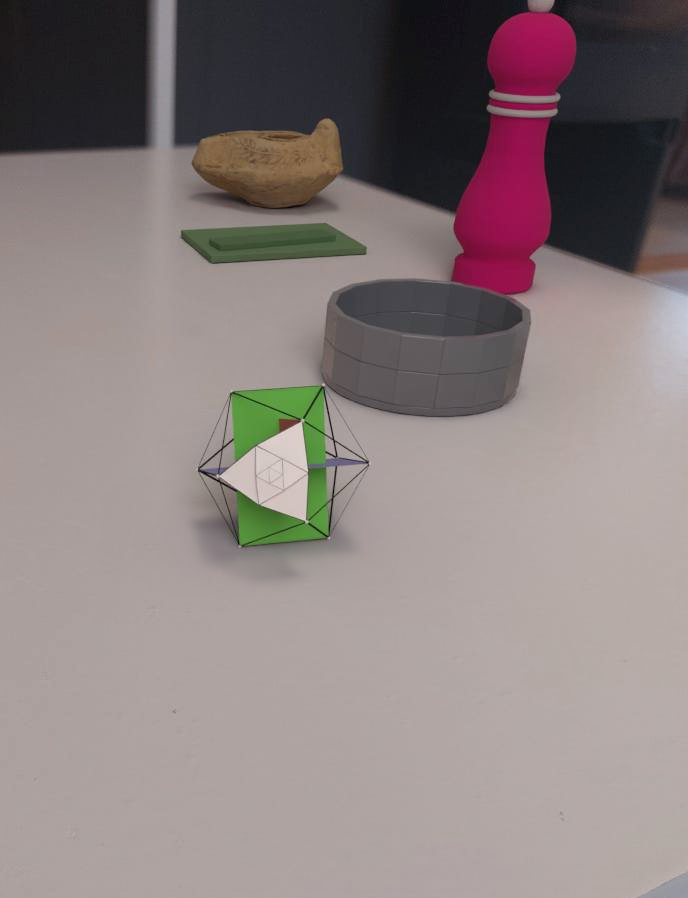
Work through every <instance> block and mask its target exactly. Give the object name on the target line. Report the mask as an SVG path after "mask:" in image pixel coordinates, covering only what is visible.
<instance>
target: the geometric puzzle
mask: <svg viewBox="0 0 688 898" xmlns="http://www.w3.org/2000/svg"><path fill="white" fill-rule="evenodd" d="M326 393H327V395H328V396H329V398H330V399H331V401H332V403H333V405H334V407H335V408H336V410H337V412H338V413H339V414H340V416H341V418H342V420H343V422H344V423H345V425H346V427H347V428H348V430H349V431H350V433H351V435H352V436H353V438H354V440H355V442H356V443H357V445H358V446H359V448H360V450H361V451H362V452H363V454H364V457H365V458H364V457H362V456H361V455H359V454H358V453H356V452H354V451H353V450H351V449H350V448H349V447H347V446H345V445H344V444H342V443H340V442H339V441H337V440H336V439H335V436H334V429H333V425H332V420H331V415H330V410H329V405H328V400H327V395H326ZM227 403H228V406H227V414H226V419H225V425H224V432H223V437H222V444H221V445H222V446H221V447H220V448H219V449H218V450H217V451H216V452H215V453H214V454H213V455H212V456H210V457H209V458H208V459H207V460H206V461H205V462H203V463H202V460H203V459H204V456H205V454H206V451H207V450H208V447H209V444H210V442H211V440H212V438H213V435H214V433H215V431H216V428H217V427H218V424H219V422H220V420H221V417H222V415H223V412H224V410H225V408H226V405H227ZM230 405H231V407H230ZM230 408H231V415H232V429H233V430H232V432H233V433H232V434H233V438H232V439H230V440H229V441H228V442H227V443H226V444H225V438H226V433H227V426H228V418H229V413H230ZM325 408H326V413H327V417H328V422H329V427H330V433H331V436H329V435H328V434H326V425H325V424H326V423H325V421H326V419H325ZM343 417H344V416H343V415H342V414H341V412H340V410H339V409H338V408H337V405H336V403H335V402H334V401H333V399H332V397H331V396H330V394H329V392H328V391H327V389H326V383H321V384H319V385H308V386H307V385H305V386H291V387H290V386H289V387H277V388H276V387H275V388H263V389H247V390H245V389H244V390H233V389H230V390H229V395H228V397H227V400H226V402H225V403H224V407H223V409H222V411H221V414H220V416H219V419H218V421H217V423H216V426H215V427H214V430H213V432H212V434H211V436H210V439H209V441H208V444H207V446H206V448H205V451H204V453H203V454H202V457H201V458H200V459H201V460H200V462H199V464H198V466H197V467H196V468H195V472H197V473H198V474H199V476H200V477H201V480H202V481H203V484H204V485H205V486H206V490H208V492H209V494H210V496H211V498H212V499H213V501H214V503H215V505H216V506H217V508H218V510H219V512H220V514H221V515H222V518H223V519H224V520H225V523H226V524H227V526H228V527H229V530H230V532H231V533H232V535H233V537H234V539H235V541H236V543H237V544H238V546H237V547H238V548H239V549H242V547H250V546H251V547H252V546H260V545H271V544H281V543H291V542H301V541H311V540H313V541H314V540H322V539H326V540H327V541H330V540H331V535H332V533H333V531H334V530H335V528H336V526H337V524H338V522H339V521H340V519H341V517H342V514H344V512H345V510H346V508H347V506H348V505H349V502H350V501H351V499H352V498H353V495H354V494H355V491H356V490H357V489H358V487H359V485H360V483H361V481H362V480H363V478H364V476H365V474H366V472H367V470H368V469H369V467H370V466H371V465H372V464H373V463H372V461H370V460H369V459H368V457H367V455H366V454H365V452H364V451H363V448H362V447H361V445H360V444H359V442H358V440H357V439H356V437H355V435H354V434H353V432H352V430H351V429H350V427H349V425H348V424H347V422H346V421H345V419H344V418H343ZM326 437H327V438H328V439H329V440H332V442H333V448H334V452H335V454H333V453H331V452H329V451H327V449H326V447H327V446H326ZM232 442H233V448H234V449H233V450H234V462H233V463H232V464H231V465H229V466H225V467H221V464H222V457H223V451H224V449H225V448H226V447H228V446H229V445H230V444H231V443H232ZM336 444H338V445H339V446H341V447H342V448H344V449H346V450H347V451H349V452H350V453H352V454H353V455H355V456H356V457H358V458H359V459H361V460H358V459H352V458H346V457H339V455H338V451H337V450H338V449H337V446H336ZM219 453H220V458H219V464H218V467H213V468H203V467H204V466H205V465H206V464H208V463H209V462H210V461H211V460H212V459H214V458H215V457H216V456H217V455H218V454H219ZM327 455H329V456H331V457H332V458H327V457H326V456H327ZM201 463H202V464H201ZM356 465H357V466H358V465H366V466H365V467H364V468H362V470H361V471H359V472H358V473H357V474H356V475H355V476H354V477H353V478H352V479H350V481H349V482H348V483H346V484H345V485H344V487H342V488H341V489H340V490H339V491H338V492H336V494H335V490H336V481H337V471H338V467H344V466H345V467H346V466H356ZM333 467H334V476H333V484H332V494H331V498H330V499H329V500H328V481H327V480H328V477H327V468H333ZM361 473H363V475H362V477H361V478H360V480H359V483H358V484H357V486H356V487H355V489H354V491H353V492H352V494H351V496H350V498H349V500H348V502H347V503H346V505H345V507H344V509H343V510H342V513H341V514H340V516H339V518H338V519H337V520H336V522H335V525H334V527H333V528H332V530H331V524H332V516H333V507H334V500H335V499H334V498H335V497H337V496H338V495H339V494H340V493H341V492H342V491H343V490H344V489H345V488H346V487H348V485H350V484H351V482H353V481H354V480H355V479H356V478H357V477H358V476H359V475H360V474H361ZM201 474H202V475H204V476H205V477H207V478H209V479H211V480H213V481H215V482H216V483H219V485H220V489H221V492H222V495H223V498H224V501H225V506H226V508H227V511H228V514H229V518H230V520H231V523H232V526H233V530H232V528H231V527H230V524H229V523H228V522H227V519H226V517H225V516H224V514H223V512H222V511H221V510H222V509H220V507H219V505H218V503H217V501H216V499H215V498H214V497H213V496H214V495H213V494H212V492H211V491H210V489H209V487H208V485H207V484H206V483H207V482H205V479H204V478H203V477H202V475H201ZM221 480H222V481H221ZM223 486H224V487H226V488H228V489H230V490H231V491H233V492H235V493H236V502H237V519H238V520H237V521H238V533H237V530H236V527H235V524H234V521H233V517H232V514H231V511H230V507H229V505H228V501H227V498H226V495H225V491H224V489H223ZM329 503H330V511H329V509H328V507H329V505H328V504H329ZM233 531H234V532H233ZM234 533H235V534H234Z"/></svg>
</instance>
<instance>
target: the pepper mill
mask: <svg viewBox="0 0 688 898" xmlns="http://www.w3.org/2000/svg"><path fill="white" fill-rule="evenodd" d="M554 4H555V0H527V7H528V10H529V11H528V12H522V13H519V14H516V15H514V16H511V17H510V18H508V19H507V20H505V21H504V22H503V23H502V24H501V25H500V26H499V27H498V28H497V30H496V31H495V33H494V35H493V36H492V39H491V41H490V44H489V49H488V52H487V61H486V64H487V69H488V72H489V75H490V76H491V78H492V79H493V81H494V86H495V88H493V89H491V90H489V92H488V96H489V97H490V99H489V100H488V103H489V104H488V105H487V106H486V111H487V112H488V113H490V125H489V131H488V137H487V141H486V144H485V149H484V152H483V154H482V157H481V160H480V162H479V164H478V167H477V168H476V170H475V172H474V175H473V176H472V177H471V179H470V182H469V183H468V184H467V186H466V188H465V190H464V192H463V194H462V196H461V198H460V201H459V203H458V206H457V208H456V212H455V216H454V221H453V225H452V226H453V227H452V230H453V235H454V237H455V239H456V240H457V242H458V243H459V245H460V246H461V249H462V250H463V252H460V253H458V254H457V255H456V256H455V258H454V261H453V267H452V273H451V274H452V275H451V281H452V282H457V283H462V284H467V285H472V286H477V287H482V288H487V289H490V290H493V291H495V292H498V293H501V294H504V295H508V294H509V295H510V294H519V293H523V292H526V291H528V290H530V289H531V288H532V286H533V284H534V278H535V274H536V273H535V272H536V266H537V264H536V262H535V261H534V260H533V259H531V256H532V255H533V254H534V253H535V252H537V251H538V250H539V249H540V248H541V247H542V246H543V245H544V244H545V243H546V241H547V240H548V238H549V235H550V231H551V222H552V207H551V206H552V205H551V204H552V203H551V199H550V194H549V188H548V183H547V177H546V170H545V149H546V139H547V134H548V133H547V132H548V129H549V125H550V121H551V118H552V117H555V116H556V115H557V114H558V111H559V110H558V108H557V107H558V102H559V101H560V99H561V94H560V93H558V92H556V91H557V90H558V88H559V86H560V85H561V84H562V82H564V80H565V79H566V78H567V77H568V76H569V75H570V73H571V72H572V70H573V68H574V66H575V61H576V57H577V56H576V55H577V38H576V34H575V32H574V30H573V27H572V26H571V25H570V23H568V21H567V20H565V18H564V17H563V18H562V17H561V16H559V15H557V14H554V13H551V12H550V11H551V9H552V8H553V6H554Z"/></svg>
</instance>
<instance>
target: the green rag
mask: <svg viewBox="0 0 688 898" xmlns="http://www.w3.org/2000/svg"><path fill="white" fill-rule="evenodd" d="M180 237H181V239H183V240H184V241H185V242H187V243H188V245H190V246H191V247H192V248H193V249H194V250H196V251H197V252H198V253H199V254H200V255H202V256H203V257H204V258H205V259H206V260H207V261H208V262H210V263H211V264H220V263H234V262H235V263H236V262H253V261H254V262H255V261H269V260H286V259H302V258H303V259H304V258H318V257H319V258H321V257H335V256H336V257H337V256H352V255H353V256H355V255H366V254H367V251H368V247H367V246H366V245H364V244H362V243H361V242H360V241H358V240H356V239H354V238H352V237H351V236H349V235H348V234H346V233H344V232H343V231H341V230H339V229H337V228H336V227H334V226H333V225H331V224H329V223H327V222H316V223H315V222H313V223H296V224H292V223H291V224H273V225H254V226H237V227H236V226H235V227H217V228H216V227H215V228H196V229H195V228H194V229H181V230H180Z"/></svg>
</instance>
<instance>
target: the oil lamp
mask: <svg viewBox="0 0 688 898" xmlns="http://www.w3.org/2000/svg"><path fill="white" fill-rule="evenodd" d="M339 133H340V132H339V129H338V127H337V125H336V123H335V122H334V121H333V120H332V119H330V118H324V119H321V120H319V122H318V123H317V124H316V126H315V127H314V130H313V131H312V132H311V134H306V133H305V134H304V133H301V132H299V131H291V130H237V131H236V130H235V131H228V132H222V133H218V134H214V135H211V136H207V137H205V138H201V139H200V140H199V143H198V146H197V149H196V151H195V153H194V155H193V158H192V160H191V166H192V168H193V170H194V171H195V172H196V173H197V175H199V177H201V178H202V179H203V180H204V182H206V183H207V184H209V185H210V186H213V187H215V188H217V189H221V190H223V191H226V192H228V193H232V194H234V195H236V196H239V197H240V198H242V199H244V200H245V201H246V202H247V204H248V203H249V204H250V205H252V206H254V207H255V206H256V207H260V208H266V209H267V208H268V209H279V208H288V207H292V206H302V205H304V204H307V203H309V202H310V200H312V199H313V198H314V197H316V196H317V195H318V194H320V192H322V191H323V190H324V189H325V188H326V187H328V186H329V185H330V184H331V183H333V182H335V180H336V178H337V177H338V175H339V174H340V173H342V172H343V170H344V165H343V158H342V147H341V142H340V134H339Z"/></svg>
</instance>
